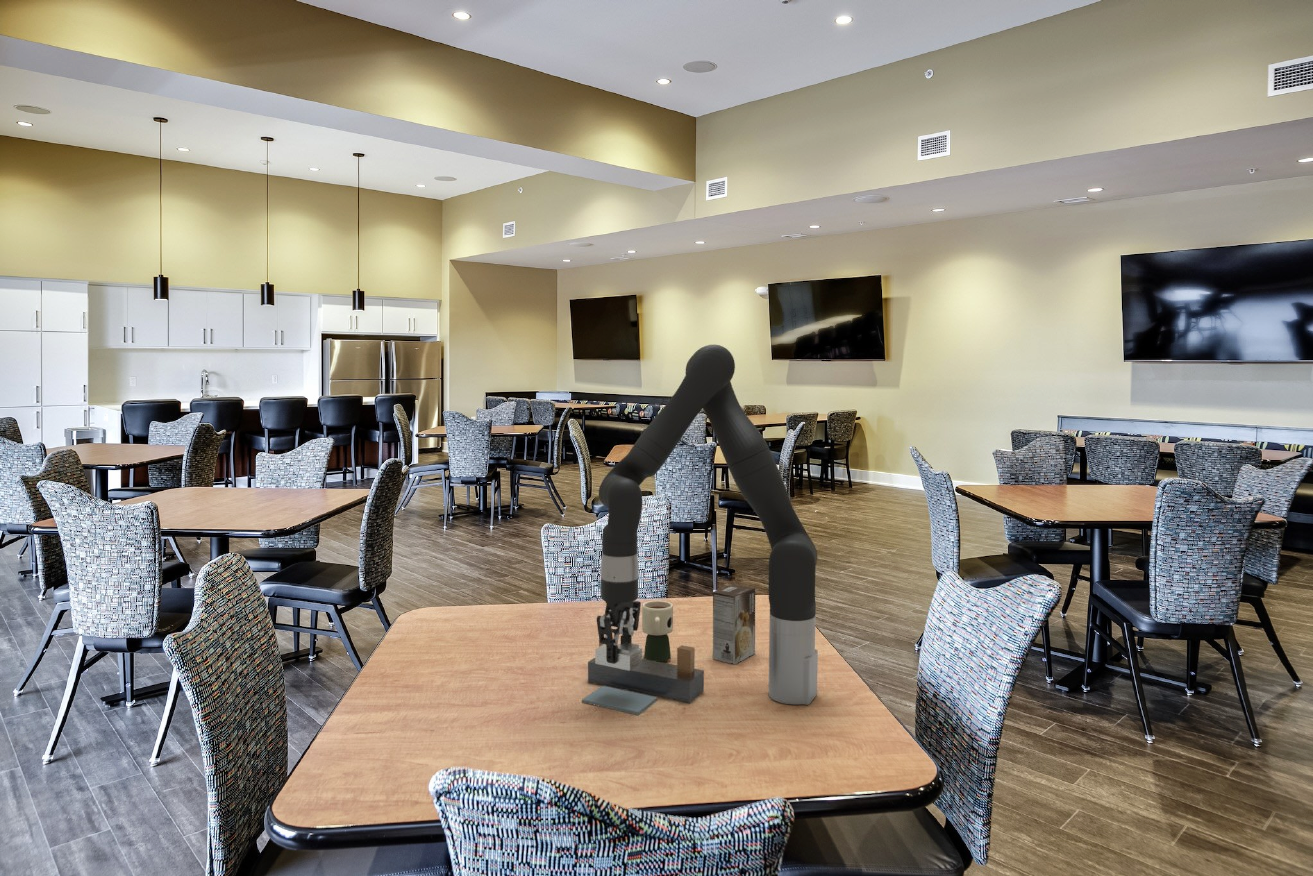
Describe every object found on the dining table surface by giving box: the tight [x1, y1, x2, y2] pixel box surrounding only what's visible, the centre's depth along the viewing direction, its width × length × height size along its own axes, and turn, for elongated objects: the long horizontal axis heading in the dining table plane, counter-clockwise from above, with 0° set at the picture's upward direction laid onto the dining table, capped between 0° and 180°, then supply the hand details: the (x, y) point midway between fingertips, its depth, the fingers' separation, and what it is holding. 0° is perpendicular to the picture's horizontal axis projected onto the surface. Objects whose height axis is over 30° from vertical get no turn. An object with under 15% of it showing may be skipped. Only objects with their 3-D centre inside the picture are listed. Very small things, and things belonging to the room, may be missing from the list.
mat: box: [581, 685, 658, 716], centre depth 163 cm, size 13×8×1 cm, turn 63°
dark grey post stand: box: [587, 640, 705, 704], centre depth 170 cm, size 24×7×10 cm, turn 63°
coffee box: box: [712, 583, 756, 665], centre depth 188 cm, size 9×6×16 cm
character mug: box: [641, 600, 674, 662], centre depth 186 cm, size 11×7×13 cm, turn 179°
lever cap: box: [594, 642, 643, 671], centre depth 162 cm, size 8×5×4 cm, turn 62°
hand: (619, 657), depth 162 cm, fingers closed on lever cap, 5 cm apart
